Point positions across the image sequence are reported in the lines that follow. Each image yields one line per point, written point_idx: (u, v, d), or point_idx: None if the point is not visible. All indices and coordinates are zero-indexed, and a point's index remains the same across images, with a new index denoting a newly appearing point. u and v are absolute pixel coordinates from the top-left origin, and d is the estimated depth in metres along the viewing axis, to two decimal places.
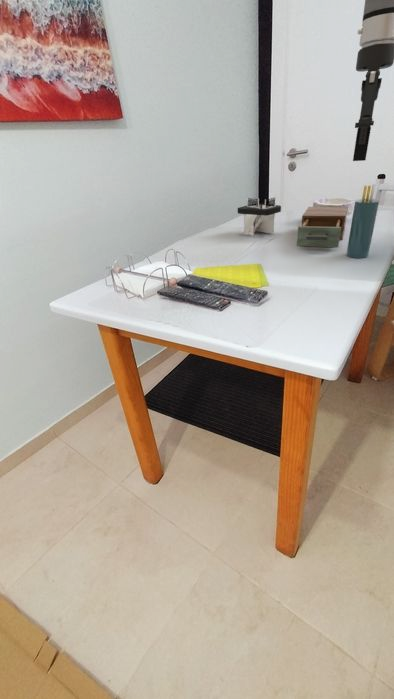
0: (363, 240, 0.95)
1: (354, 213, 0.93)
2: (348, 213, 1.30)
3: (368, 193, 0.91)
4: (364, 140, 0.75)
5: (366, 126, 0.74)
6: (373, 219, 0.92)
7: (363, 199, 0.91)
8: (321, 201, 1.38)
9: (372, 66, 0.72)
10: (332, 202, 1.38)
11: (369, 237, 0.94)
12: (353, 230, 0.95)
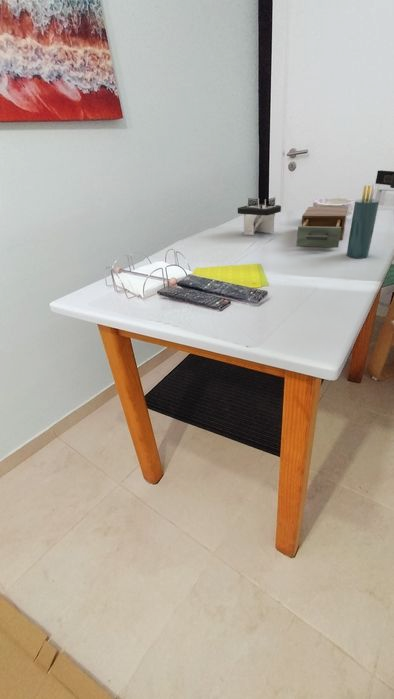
0: (363, 240, 0.95)
1: (354, 213, 0.93)
2: (348, 213, 1.30)
3: (368, 193, 0.91)
4: None
5: None
6: (373, 219, 0.92)
7: (363, 199, 0.91)
8: (321, 201, 1.38)
9: None
10: (332, 202, 1.38)
11: (369, 237, 0.94)
12: (353, 230, 0.95)
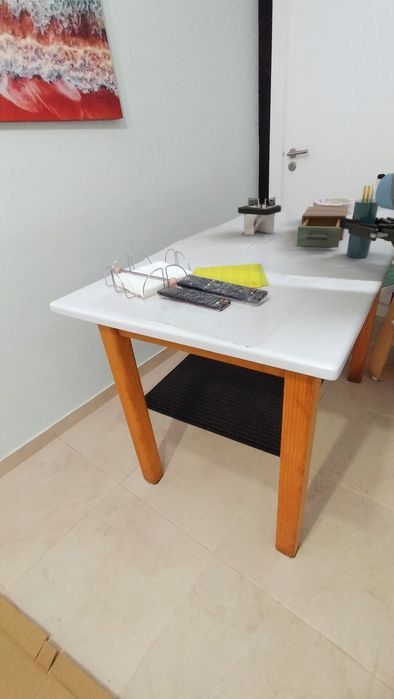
0: (363, 240, 0.95)
1: (354, 213, 0.93)
2: (348, 213, 1.30)
3: (368, 193, 0.91)
4: None
5: None
6: (373, 219, 0.92)
7: (363, 199, 0.91)
8: (321, 201, 1.38)
9: None
10: (332, 202, 1.38)
11: None
12: None
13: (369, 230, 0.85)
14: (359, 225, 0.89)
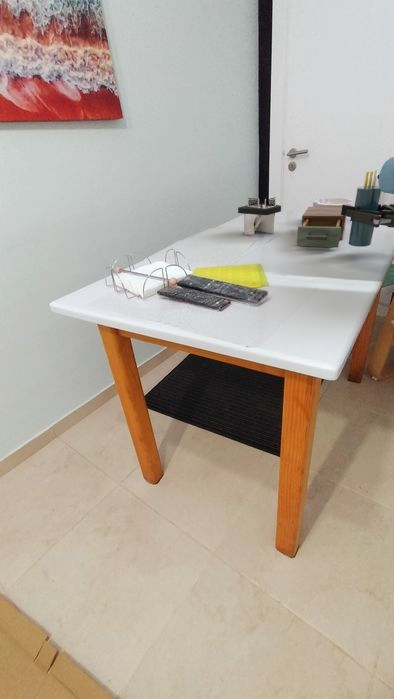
0: (366, 228, 0.93)
1: (356, 200, 0.91)
2: None
3: (370, 179, 0.90)
4: None
5: None
6: (376, 206, 0.90)
7: (365, 185, 0.89)
8: (321, 201, 1.38)
9: None
10: (332, 202, 1.38)
11: None
12: None
13: (372, 216, 0.84)
14: (361, 212, 0.87)
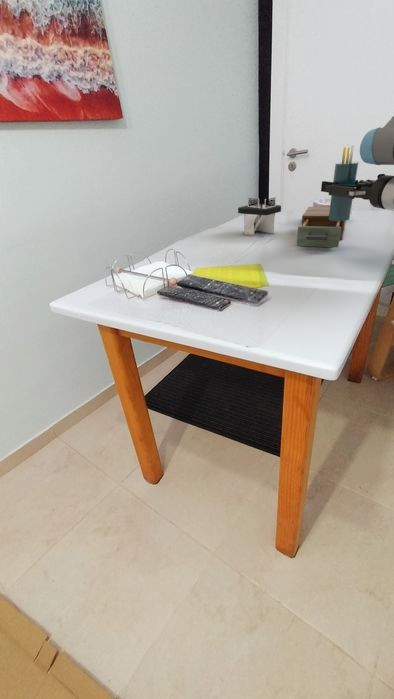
0: (344, 203, 0.97)
1: (334, 175, 0.95)
2: None
3: (348, 155, 0.94)
4: None
5: None
6: (353, 181, 0.94)
7: (343, 161, 0.93)
8: (321, 201, 1.38)
9: None
10: None
11: (349, 199, 0.97)
12: None
13: (348, 189, 0.88)
14: (339, 185, 0.91)
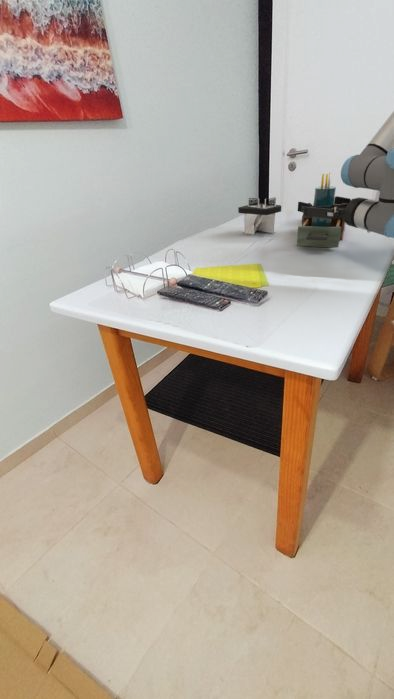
0: (323, 223, 1.06)
1: (314, 198, 1.05)
2: None
3: (326, 180, 1.03)
4: None
5: None
6: (331, 204, 1.04)
7: (322, 186, 1.03)
8: None
9: None
10: None
11: (328, 220, 1.06)
12: None
13: (326, 210, 0.95)
14: (313, 207, 0.98)
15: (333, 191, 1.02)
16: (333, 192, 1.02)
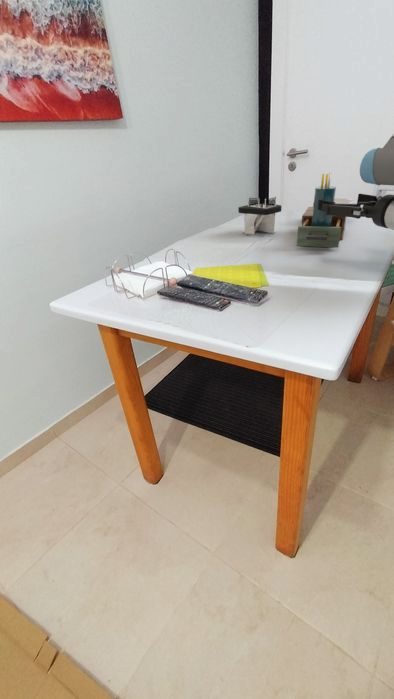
0: (323, 223, 1.06)
1: (314, 198, 1.05)
2: None
3: (326, 180, 1.03)
4: None
5: None
6: None
7: (322, 186, 1.03)
8: None
9: None
10: None
11: (328, 220, 1.06)
12: (314, 214, 1.06)
13: (352, 208, 0.86)
14: (337, 205, 0.89)
15: (333, 191, 1.02)
16: (333, 192, 1.02)
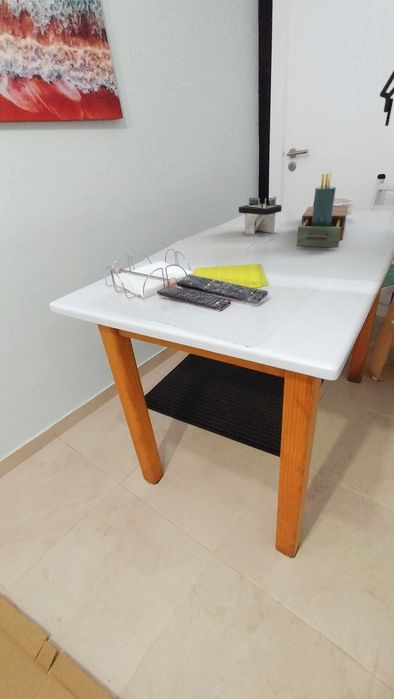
0: (323, 223, 1.06)
1: (314, 198, 1.05)
2: (348, 213, 1.30)
3: (326, 180, 1.03)
4: None
5: (385, 98, 0.97)
6: (331, 204, 1.04)
7: (322, 186, 1.03)
8: None
9: None
10: None
11: (328, 220, 1.06)
12: (314, 214, 1.06)
13: None
14: None
15: (333, 191, 1.02)
16: (333, 192, 1.02)
